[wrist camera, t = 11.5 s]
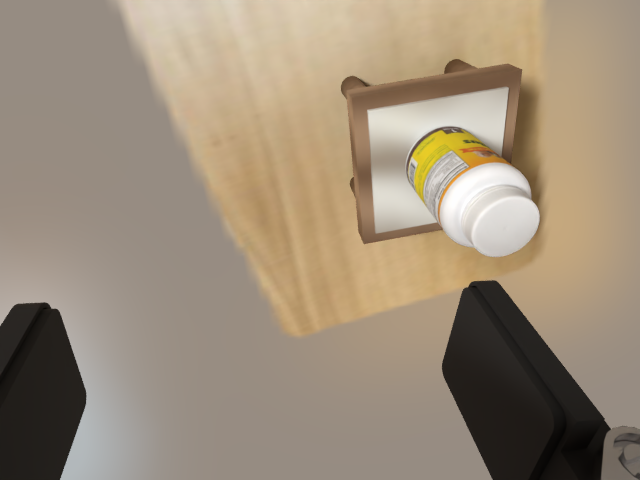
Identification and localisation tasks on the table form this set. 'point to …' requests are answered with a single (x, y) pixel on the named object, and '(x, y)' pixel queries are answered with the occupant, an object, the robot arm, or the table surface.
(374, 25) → the table surface
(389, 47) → the table surface
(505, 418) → the robot arm
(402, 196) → the footstool
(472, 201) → the supplement bottle
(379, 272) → the table surface
